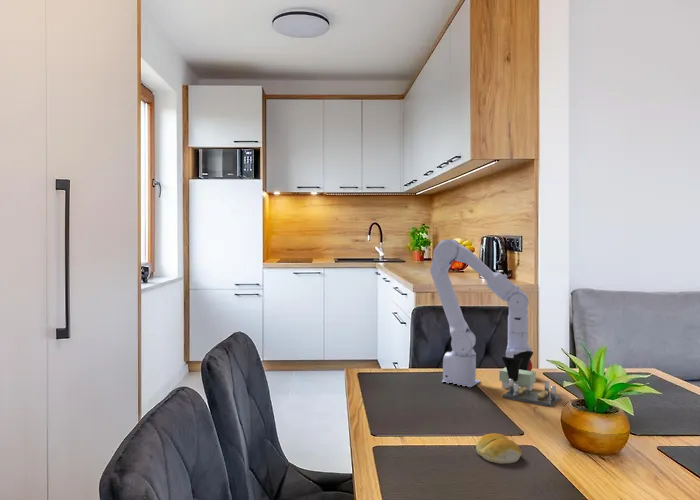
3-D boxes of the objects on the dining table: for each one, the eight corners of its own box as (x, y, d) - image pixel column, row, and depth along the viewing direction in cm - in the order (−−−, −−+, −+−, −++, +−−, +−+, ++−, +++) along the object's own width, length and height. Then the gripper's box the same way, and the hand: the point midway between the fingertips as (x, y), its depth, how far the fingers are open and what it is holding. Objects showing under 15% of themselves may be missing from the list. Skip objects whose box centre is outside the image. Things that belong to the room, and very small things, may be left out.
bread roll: (504, 445, 111) (504, 426, 111) (527, 462, 102) (527, 442, 102) (468, 448, 109) (468, 429, 109) (489, 466, 100) (489, 446, 100)
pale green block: (499, 380, 154) (499, 370, 154) (505, 377, 158) (505, 367, 158) (530, 385, 148) (530, 375, 148) (535, 381, 152) (535, 371, 152)
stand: (502, 387, 154) (502, 380, 154) (506, 384, 157) (506, 377, 157) (529, 391, 149) (529, 384, 149) (532, 389, 152) (532, 382, 152)
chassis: (502, 397, 144) (502, 382, 143) (513, 390, 151) (513, 375, 151) (551, 407, 136) (551, 390, 136) (560, 398, 143) (560, 383, 143)
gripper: (523, 337, 145) (523, 385, 145) (539, 329, 156) (539, 374, 156) (498, 334, 149) (498, 381, 149) (516, 327, 160) (515, 371, 161)
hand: (517, 377), depth 153 cm, fingers open, 7 cm apart
